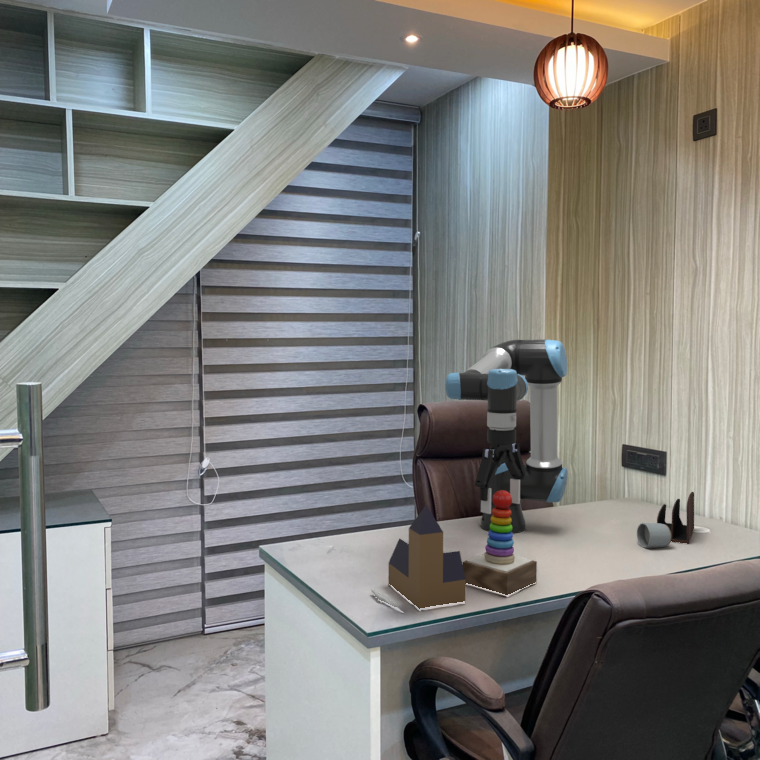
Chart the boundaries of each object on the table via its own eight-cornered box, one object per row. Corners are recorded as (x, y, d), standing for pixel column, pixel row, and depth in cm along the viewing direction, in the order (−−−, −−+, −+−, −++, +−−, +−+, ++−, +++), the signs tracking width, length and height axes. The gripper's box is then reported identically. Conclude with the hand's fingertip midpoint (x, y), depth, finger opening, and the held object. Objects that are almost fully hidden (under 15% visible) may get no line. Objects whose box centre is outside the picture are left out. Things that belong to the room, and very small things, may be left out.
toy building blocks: (419, 611, 171) (420, 509, 169) (388, 586, 188) (388, 492, 186) (465, 604, 175) (466, 504, 174) (430, 579, 193) (431, 488, 191)
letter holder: (694, 529, 243) (695, 488, 242) (688, 545, 226) (690, 501, 225) (662, 525, 248) (664, 485, 247) (655, 540, 230) (656, 497, 229)
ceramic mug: (673, 549, 220) (673, 524, 220) (649, 551, 218) (649, 526, 218) (653, 540, 231) (653, 516, 230) (630, 541, 229) (630, 518, 228)
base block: (462, 584, 189) (462, 560, 189) (492, 571, 199) (492, 548, 199) (507, 597, 180) (507, 572, 179) (536, 583, 190) (536, 560, 189)
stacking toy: (499, 567, 184) (501, 495, 182) (478, 558, 190) (479, 489, 189) (520, 561, 188) (522, 491, 187) (499, 553, 195) (500, 485, 193)
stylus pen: (367, 595, 181) (367, 588, 181) (376, 593, 182) (376, 586, 182) (399, 618, 168) (400, 610, 168) (409, 616, 169) (409, 608, 169)
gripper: (486, 435, 175) (485, 519, 177) (539, 424, 193) (538, 501, 195) (461, 431, 180) (460, 514, 182) (515, 421, 198) (514, 496, 200)
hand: (500, 507), depth 188 cm, fingers open, 13 cm apart
